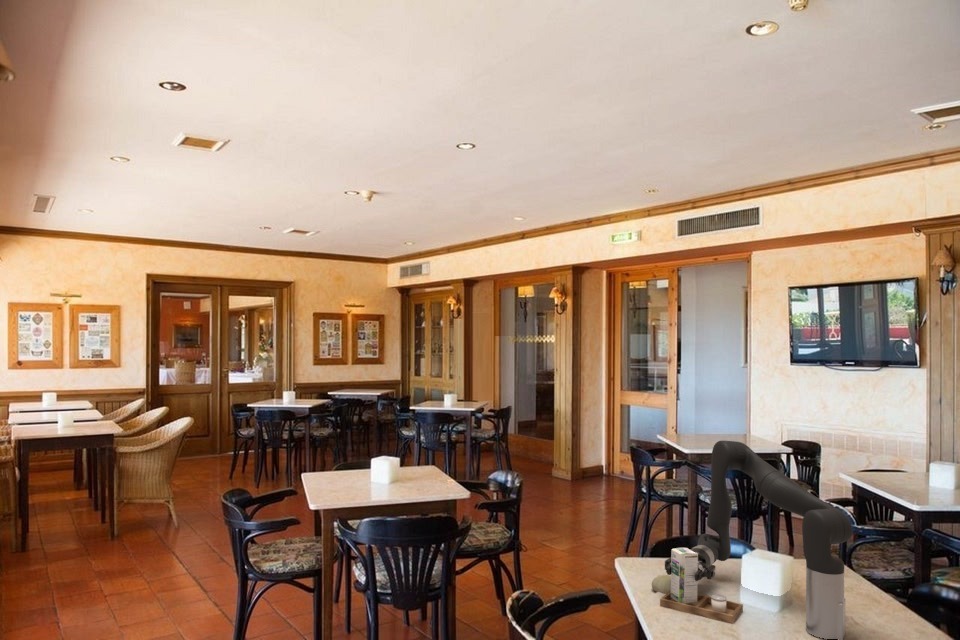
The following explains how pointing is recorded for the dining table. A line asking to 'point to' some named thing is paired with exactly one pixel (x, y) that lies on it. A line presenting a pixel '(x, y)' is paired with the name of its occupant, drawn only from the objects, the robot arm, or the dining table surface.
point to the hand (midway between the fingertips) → (682, 574)
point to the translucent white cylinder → (718, 603)
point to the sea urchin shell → (662, 584)
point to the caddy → (704, 608)
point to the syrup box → (684, 575)
